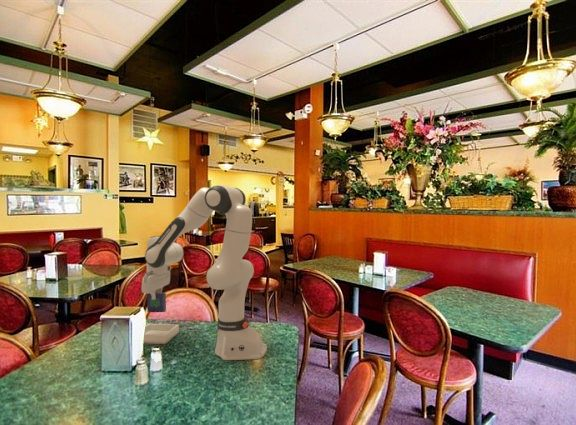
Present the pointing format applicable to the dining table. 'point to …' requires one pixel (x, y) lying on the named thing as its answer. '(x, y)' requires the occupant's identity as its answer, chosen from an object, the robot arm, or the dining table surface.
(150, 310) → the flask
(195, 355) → the dining table surface
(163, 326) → the tub
